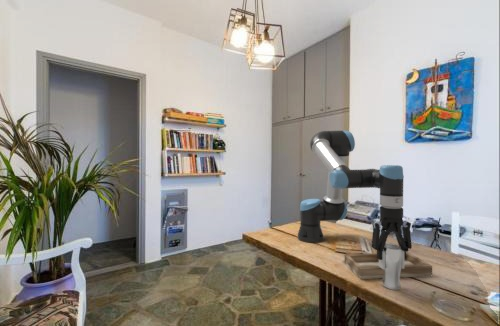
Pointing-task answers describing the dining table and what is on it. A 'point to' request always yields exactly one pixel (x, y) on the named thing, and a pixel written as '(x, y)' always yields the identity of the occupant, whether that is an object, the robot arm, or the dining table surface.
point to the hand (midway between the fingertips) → (391, 267)
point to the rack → (369, 269)
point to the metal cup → (392, 266)
